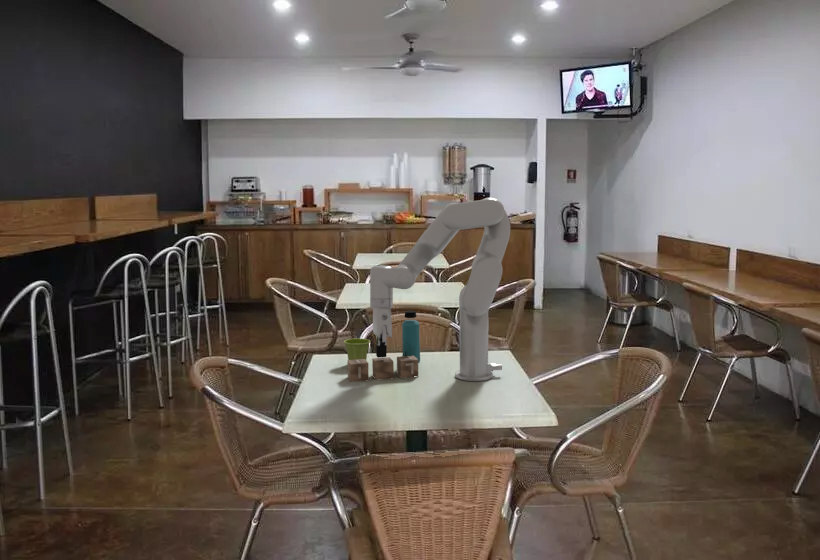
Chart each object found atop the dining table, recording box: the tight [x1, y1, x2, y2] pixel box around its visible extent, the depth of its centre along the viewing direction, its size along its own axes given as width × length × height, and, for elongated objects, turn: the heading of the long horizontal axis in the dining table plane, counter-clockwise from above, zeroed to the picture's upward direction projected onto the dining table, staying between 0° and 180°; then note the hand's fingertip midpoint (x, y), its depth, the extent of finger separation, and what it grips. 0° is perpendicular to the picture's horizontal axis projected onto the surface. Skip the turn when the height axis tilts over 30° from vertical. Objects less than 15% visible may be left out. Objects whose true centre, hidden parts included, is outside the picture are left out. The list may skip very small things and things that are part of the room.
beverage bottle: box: [401, 310, 421, 364], centre depth 253 cm, size 6×7×20 cm
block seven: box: [396, 355, 419, 379], centre depth 242 cm, size 6×6×6 cm
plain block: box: [371, 356, 395, 381], centre depth 240 cm, size 6×6×6 cm
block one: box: [347, 359, 370, 383], centre depth 238 cm, size 6×6×6 cm
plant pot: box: [343, 338, 371, 361], centre depth 257 cm, size 9×9×9 cm
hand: (381, 356), depth 239 cm, fingers closed
